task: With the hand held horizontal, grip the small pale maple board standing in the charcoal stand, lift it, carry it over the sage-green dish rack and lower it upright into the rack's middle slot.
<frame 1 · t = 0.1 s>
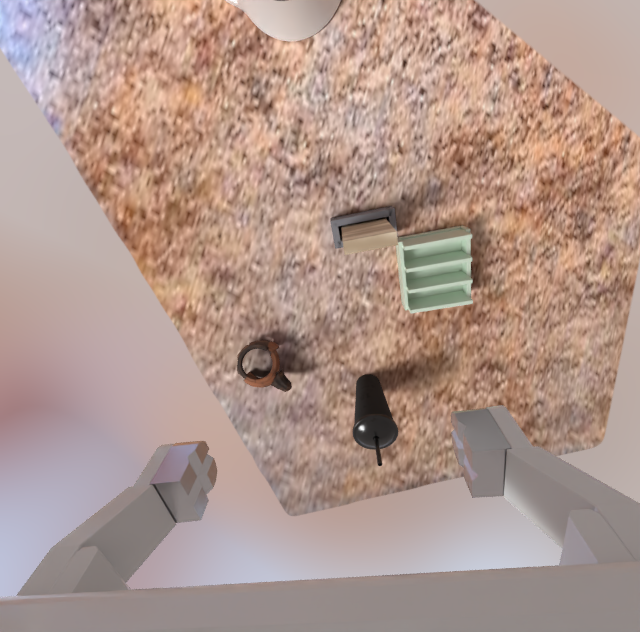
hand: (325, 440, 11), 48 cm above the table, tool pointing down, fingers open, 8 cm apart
pottery mug: (268, 360, 67), on the table
board stand: (362, 225, 54), on the table
drinking cup: (368, 383, 68), on the table
maple board: (362, 225, 54), resting in board stand
dish rack: (430, 266, 57), on the table
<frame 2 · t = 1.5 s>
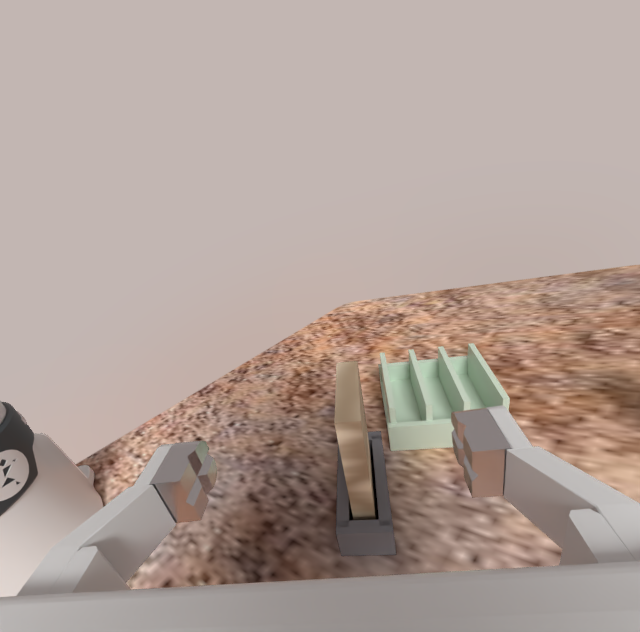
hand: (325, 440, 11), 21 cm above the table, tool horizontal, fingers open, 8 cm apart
board stand: (365, 496, 31), on the table
maple board: (365, 496, 31), resting in board stand
dish rack: (436, 409, 39), on the table
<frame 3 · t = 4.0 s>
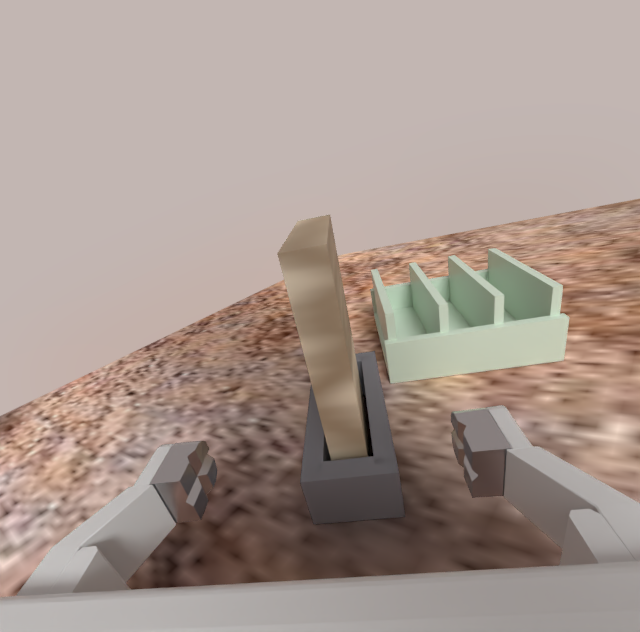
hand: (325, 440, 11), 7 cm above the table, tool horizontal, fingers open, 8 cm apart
board stand: (353, 440, 20), on the table
maple board: (353, 440, 20), resting in board stand
dish rack: (450, 335, 29), on the table
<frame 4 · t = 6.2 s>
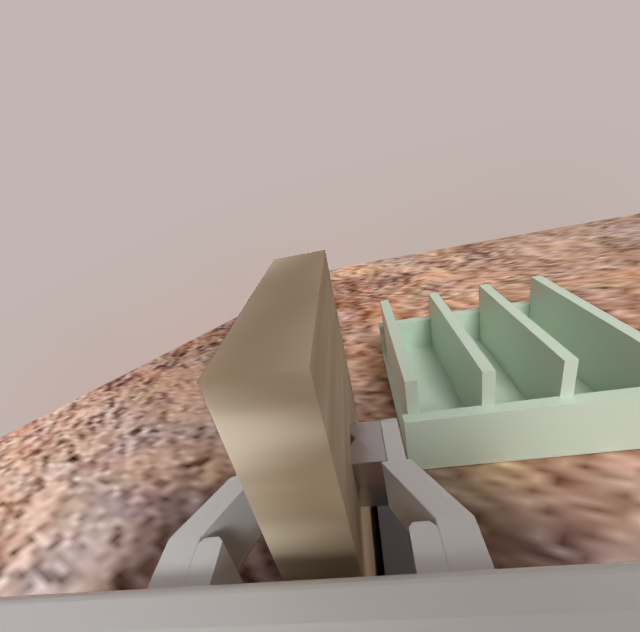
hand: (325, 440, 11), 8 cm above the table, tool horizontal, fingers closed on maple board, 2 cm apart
board stand: (359, 581, 14), on the table
maple board: (359, 581, 14), resting in board stand, touching gripper
dish rack: (484, 391, 22), on the table
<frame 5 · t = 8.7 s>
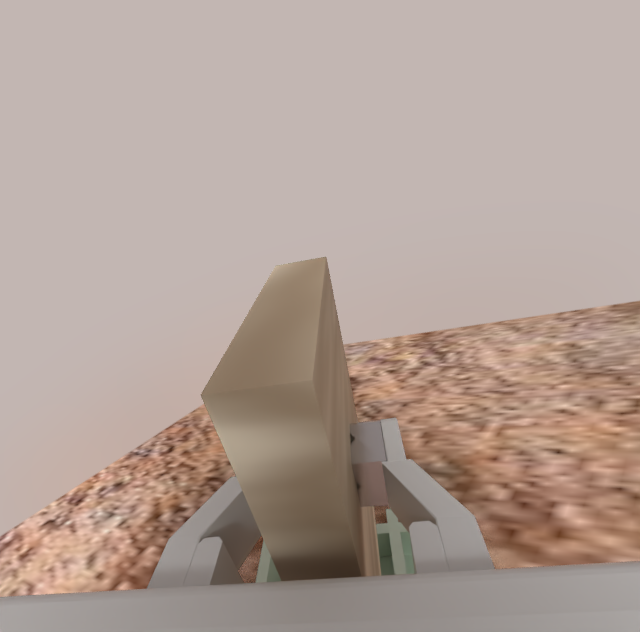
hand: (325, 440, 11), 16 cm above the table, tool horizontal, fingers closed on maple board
maple board: (360, 585, 14), point 8 cm above the table, touching gripper
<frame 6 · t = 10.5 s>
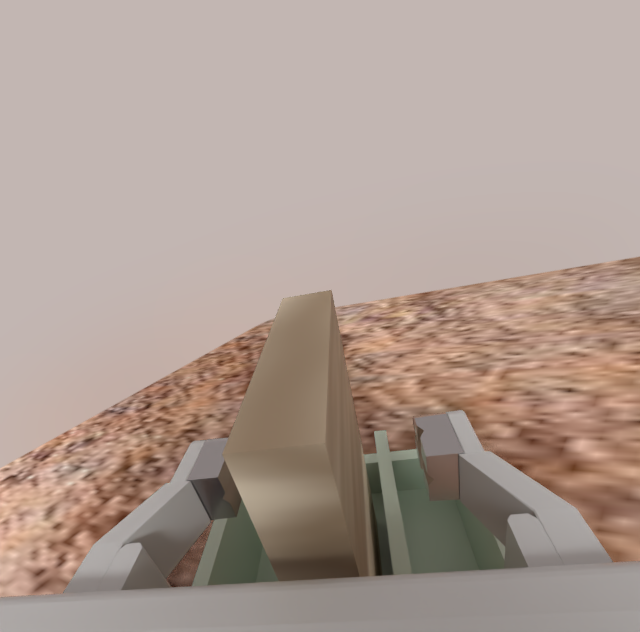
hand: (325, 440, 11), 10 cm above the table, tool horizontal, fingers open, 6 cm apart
maple board: (364, 602, 14), point 1 cm above the table, touching dish rack
dish rack: (367, 611, 15), on the table
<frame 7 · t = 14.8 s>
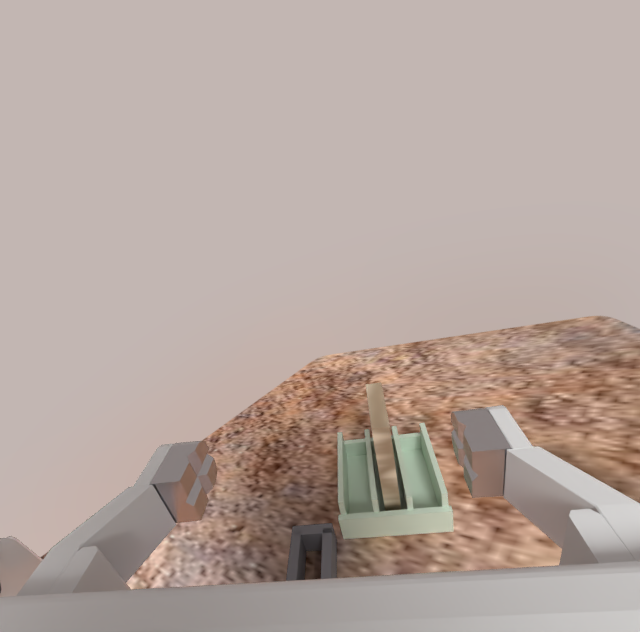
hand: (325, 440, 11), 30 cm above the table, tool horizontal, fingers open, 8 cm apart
board stand: (314, 593, 33), on the table
maple board: (389, 485, 41), point 1 cm above the table, touching dish rack
dish rack: (390, 490, 41), on the table
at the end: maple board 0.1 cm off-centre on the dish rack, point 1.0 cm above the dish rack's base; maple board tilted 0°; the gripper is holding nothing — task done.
